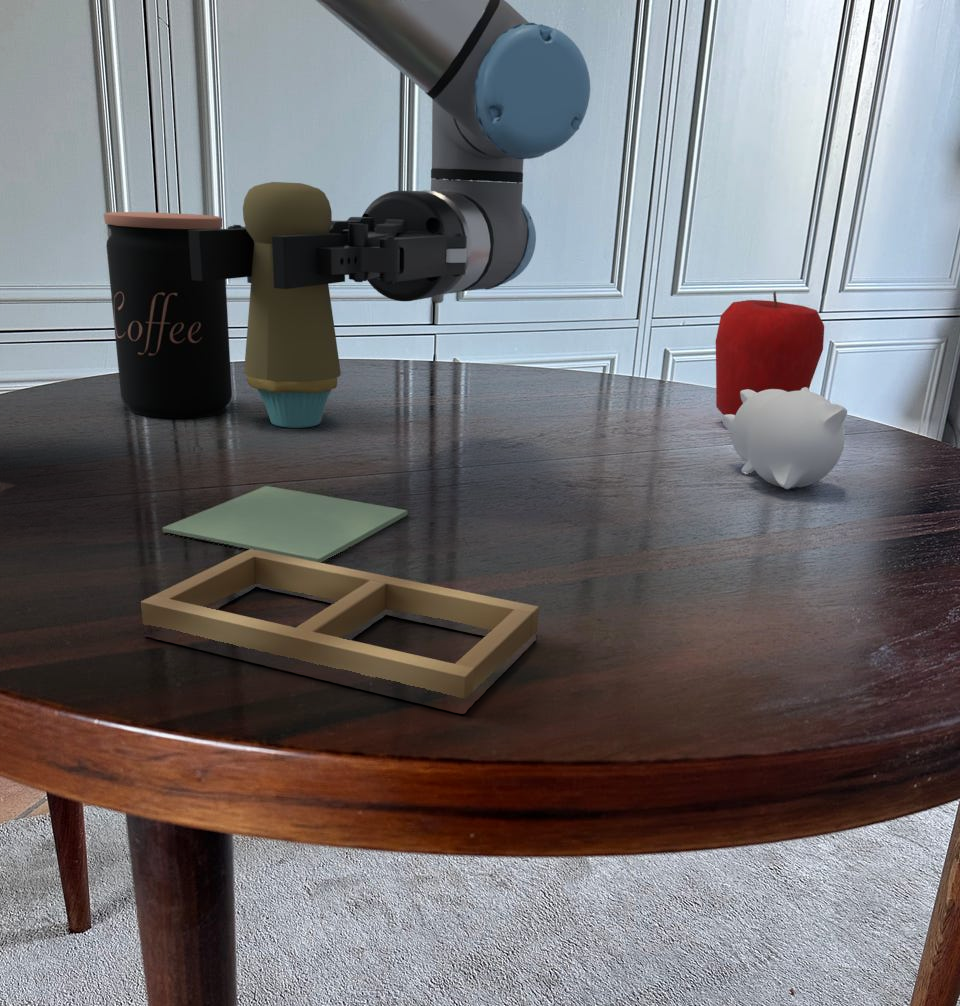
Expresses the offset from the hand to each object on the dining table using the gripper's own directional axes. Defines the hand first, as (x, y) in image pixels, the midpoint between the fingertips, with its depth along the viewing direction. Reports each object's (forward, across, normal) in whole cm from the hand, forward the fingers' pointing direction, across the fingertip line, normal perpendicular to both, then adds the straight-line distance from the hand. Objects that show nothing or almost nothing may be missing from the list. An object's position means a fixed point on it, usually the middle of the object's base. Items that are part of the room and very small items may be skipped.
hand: (236, 259), depth 57 cm
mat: (-7, +2, -18) cm, 19 cm away
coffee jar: (-32, +32, -18) cm, 49 cm away
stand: (+8, -12, -18) cm, 23 cm away
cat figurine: (-39, -27, -18) cm, 51 cm away
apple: (-60, -21, -18) cm, 66 cm away
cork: (-5, 0, -7) cm, 9 cm away
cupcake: (-33, +19, -18) cm, 42 cm away
